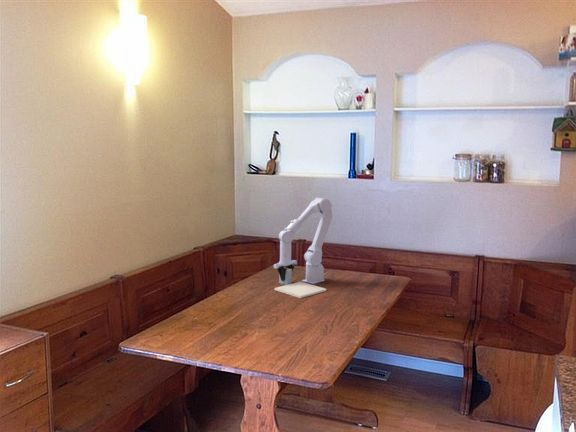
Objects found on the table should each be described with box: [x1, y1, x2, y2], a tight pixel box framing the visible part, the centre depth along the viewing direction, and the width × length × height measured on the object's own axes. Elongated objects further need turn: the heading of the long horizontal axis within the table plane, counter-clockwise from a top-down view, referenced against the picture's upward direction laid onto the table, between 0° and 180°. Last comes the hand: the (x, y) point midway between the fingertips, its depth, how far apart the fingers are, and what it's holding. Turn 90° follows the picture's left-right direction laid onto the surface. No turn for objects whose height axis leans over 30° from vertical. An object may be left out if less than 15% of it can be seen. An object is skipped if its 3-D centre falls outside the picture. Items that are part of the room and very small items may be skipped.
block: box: [278, 267, 293, 286], centre depth 270 cm, size 3×6×8 cm, turn 44°
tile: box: [274, 281, 327, 299], centre depth 259 cm, size 18×18×1 cm
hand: (285, 279), depth 271 cm, fingers closed on block, 3 cm apart
